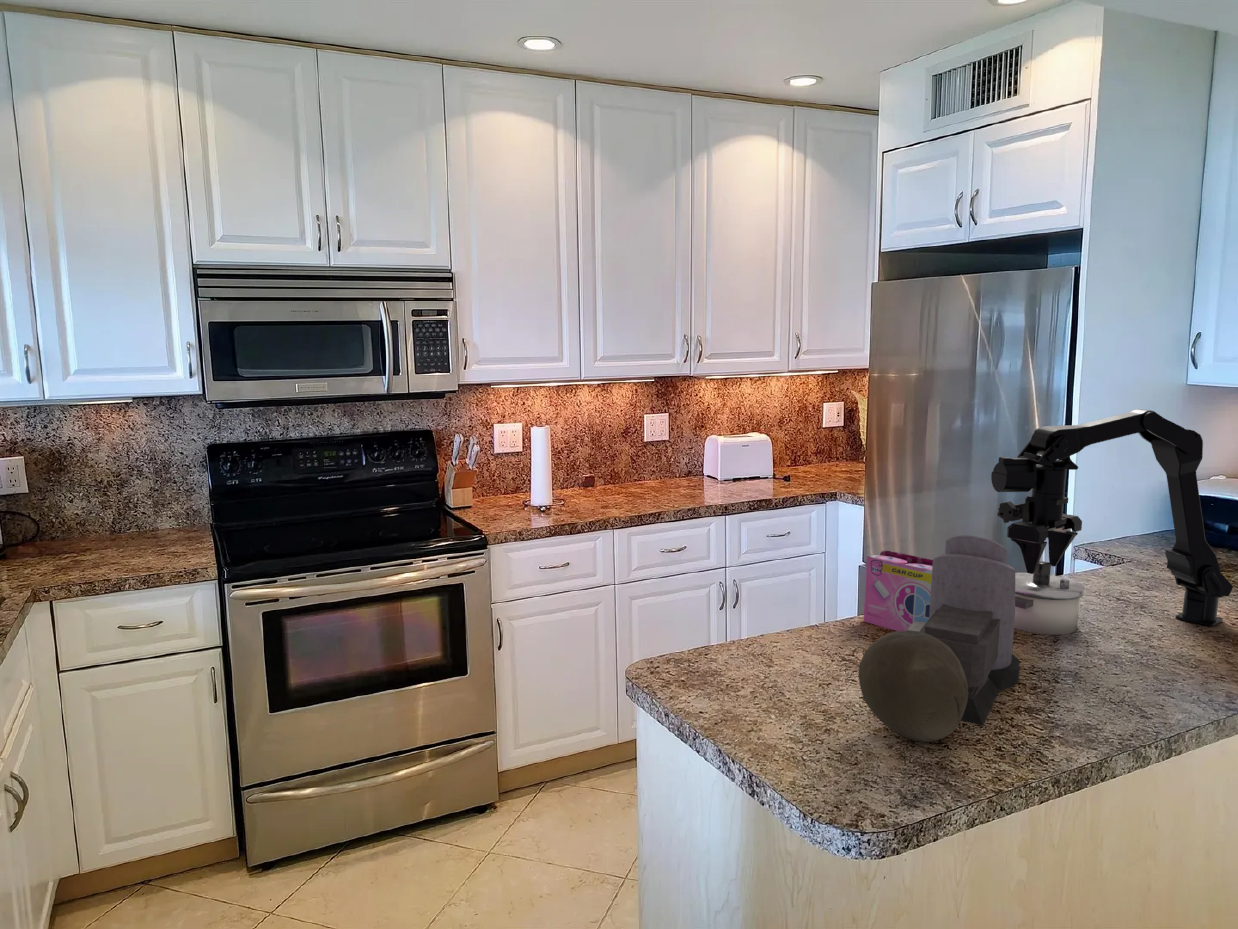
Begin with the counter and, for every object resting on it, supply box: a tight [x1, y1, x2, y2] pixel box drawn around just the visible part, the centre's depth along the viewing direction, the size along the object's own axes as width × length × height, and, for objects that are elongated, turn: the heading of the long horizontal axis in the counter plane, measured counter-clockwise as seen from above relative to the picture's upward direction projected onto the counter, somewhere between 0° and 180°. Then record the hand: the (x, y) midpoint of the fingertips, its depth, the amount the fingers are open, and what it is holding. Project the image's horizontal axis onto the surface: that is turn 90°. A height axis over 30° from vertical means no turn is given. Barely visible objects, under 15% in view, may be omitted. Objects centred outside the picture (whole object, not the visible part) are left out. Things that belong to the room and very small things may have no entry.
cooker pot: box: [1014, 594, 1081, 636], centre depth 168 cm, size 19×14×7 cm
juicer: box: [907, 534, 1021, 726], centre depth 137 cm, size 30×16×24 cm, turn 148°
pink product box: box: [863, 549, 933, 632], centre depth 162 cm, size 24×8×14 cm, turn 42°
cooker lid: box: [1015, 560, 1085, 600], centre depth 167 cm, size 15×15×5 cm
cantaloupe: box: [858, 631, 968, 743], centre depth 118 cm, size 14×14×15 cm
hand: (1041, 569), depth 167 cm, fingers open, 9 cm apart
